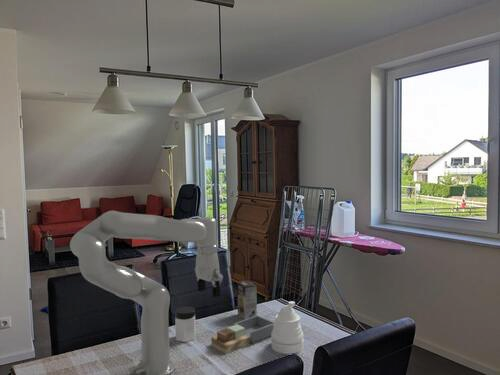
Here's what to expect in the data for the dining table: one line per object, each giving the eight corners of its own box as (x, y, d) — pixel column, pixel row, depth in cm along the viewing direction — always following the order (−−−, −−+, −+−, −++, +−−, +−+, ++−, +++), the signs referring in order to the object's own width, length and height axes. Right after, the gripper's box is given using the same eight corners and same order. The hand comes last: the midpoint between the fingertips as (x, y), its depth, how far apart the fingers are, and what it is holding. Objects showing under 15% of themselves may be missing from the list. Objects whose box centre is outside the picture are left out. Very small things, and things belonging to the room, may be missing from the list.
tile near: (224, 343, 155) (224, 335, 155) (217, 338, 159) (216, 331, 158) (234, 339, 158) (234, 331, 158) (226, 335, 162) (226, 328, 162)
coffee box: (237, 314, 192) (236, 281, 191) (249, 311, 195) (248, 279, 194) (245, 320, 184) (244, 286, 183) (257, 318, 187) (256, 284, 186)
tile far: (235, 338, 158) (235, 331, 158) (227, 334, 162) (227, 327, 162) (245, 335, 162) (244, 327, 161) (237, 331, 165) (237, 324, 165)
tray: (251, 344, 159) (251, 332, 159) (233, 335, 169) (233, 323, 168) (276, 334, 169) (276, 322, 168) (257, 325, 178) (257, 315, 177)
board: (226, 353, 152) (226, 346, 152) (211, 344, 160) (211, 337, 160) (250, 343, 160) (250, 336, 160) (234, 336, 168) (234, 329, 168)
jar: (180, 344, 161) (179, 315, 161) (172, 337, 168) (171, 309, 167) (199, 338, 166) (199, 310, 165) (191, 331, 173) (190, 304, 172)
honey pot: (305, 340, 162) (305, 297, 161) (301, 355, 150) (300, 309, 149) (275, 337, 166) (274, 295, 164) (268, 352, 153) (267, 306, 152)
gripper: (186, 248, 156) (188, 290, 157) (212, 255, 143) (214, 301, 144) (202, 244, 161) (204, 286, 162) (228, 251, 148) (230, 296, 149)
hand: (209, 293), depth 153 cm, fingers open, 9 cm apart
